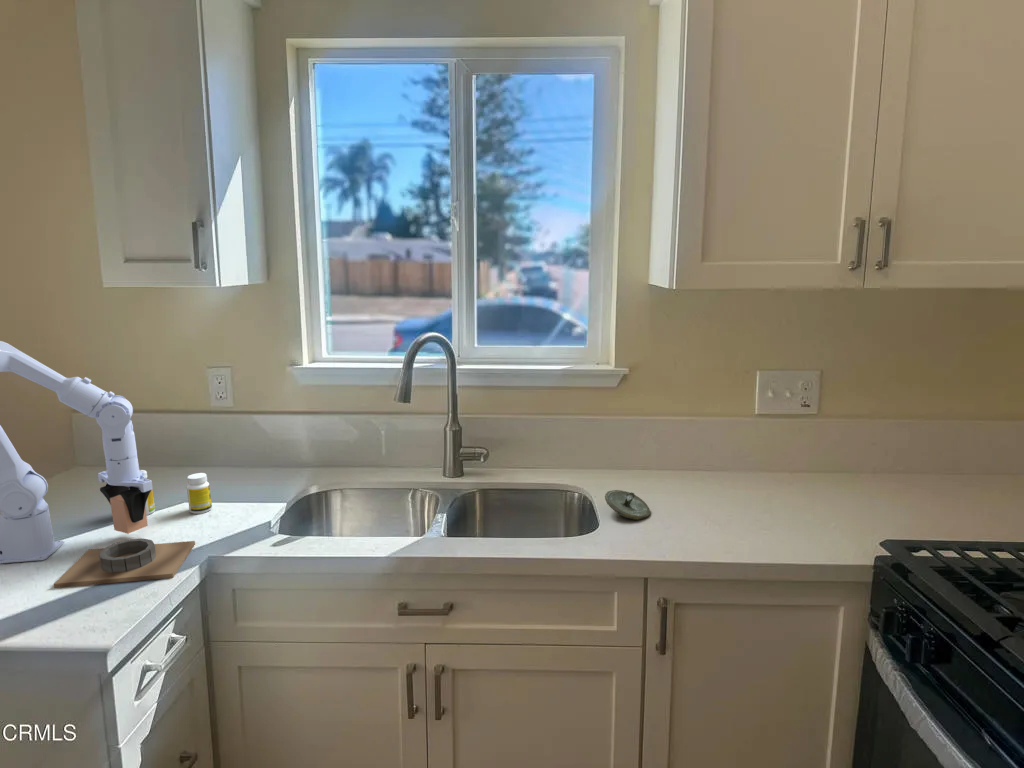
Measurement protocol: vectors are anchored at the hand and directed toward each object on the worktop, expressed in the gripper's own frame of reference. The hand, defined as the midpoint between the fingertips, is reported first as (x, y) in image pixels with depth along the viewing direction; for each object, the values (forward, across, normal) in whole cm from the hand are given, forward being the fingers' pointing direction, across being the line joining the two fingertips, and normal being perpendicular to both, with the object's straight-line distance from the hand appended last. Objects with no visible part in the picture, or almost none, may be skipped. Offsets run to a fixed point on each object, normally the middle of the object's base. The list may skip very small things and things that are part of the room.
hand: (129, 518), depth 140 cm
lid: (+4, -90, -56) cm, 106 cm away
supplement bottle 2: (+4, 0, -16) cm, 17 cm away
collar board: (+4, -11, +8) cm, 14 cm away
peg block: (+2, 0, 0) cm, 2 cm away
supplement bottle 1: (+4, +11, -10) cm, 15 cm away
